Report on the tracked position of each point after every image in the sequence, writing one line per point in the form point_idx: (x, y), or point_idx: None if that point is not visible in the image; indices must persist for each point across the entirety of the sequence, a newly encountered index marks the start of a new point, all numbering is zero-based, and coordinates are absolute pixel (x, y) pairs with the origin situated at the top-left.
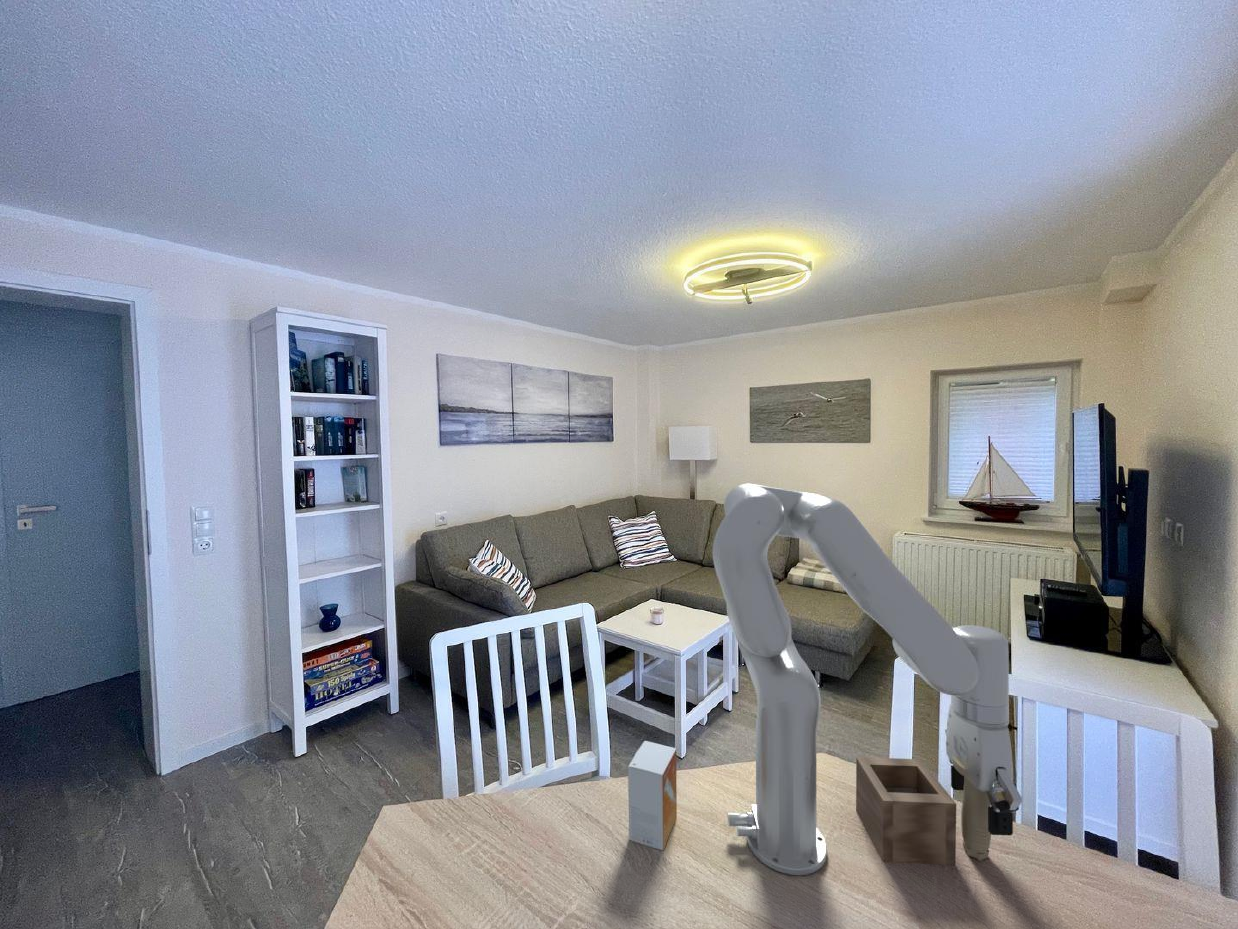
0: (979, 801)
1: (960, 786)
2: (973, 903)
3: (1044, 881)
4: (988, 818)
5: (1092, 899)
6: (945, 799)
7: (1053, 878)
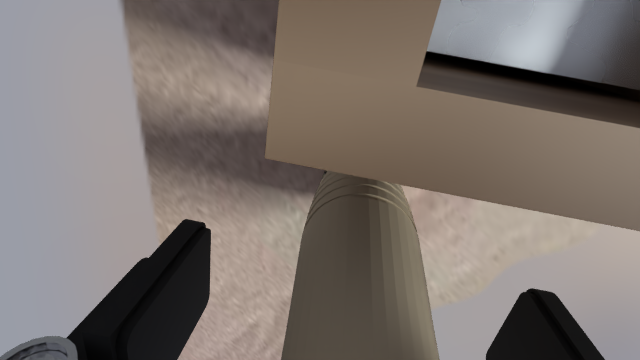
0: (290, 330)
1: (520, 333)
2: (176, 13)
3: (257, 264)
4: (161, 270)
5: (212, 309)
6: (330, 96)
7: (264, 287)
